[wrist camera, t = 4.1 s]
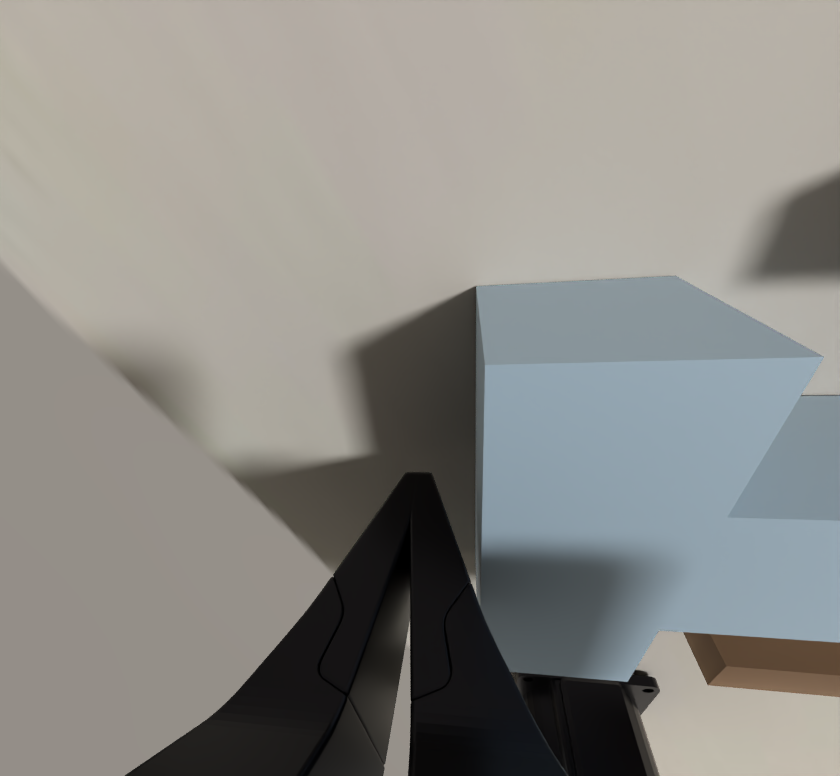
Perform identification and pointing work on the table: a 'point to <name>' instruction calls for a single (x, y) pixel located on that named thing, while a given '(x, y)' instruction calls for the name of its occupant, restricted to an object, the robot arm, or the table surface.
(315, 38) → the table surface
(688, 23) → the table surface
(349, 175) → the table surface
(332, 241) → the table surface
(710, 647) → the pocket
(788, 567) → the t block
